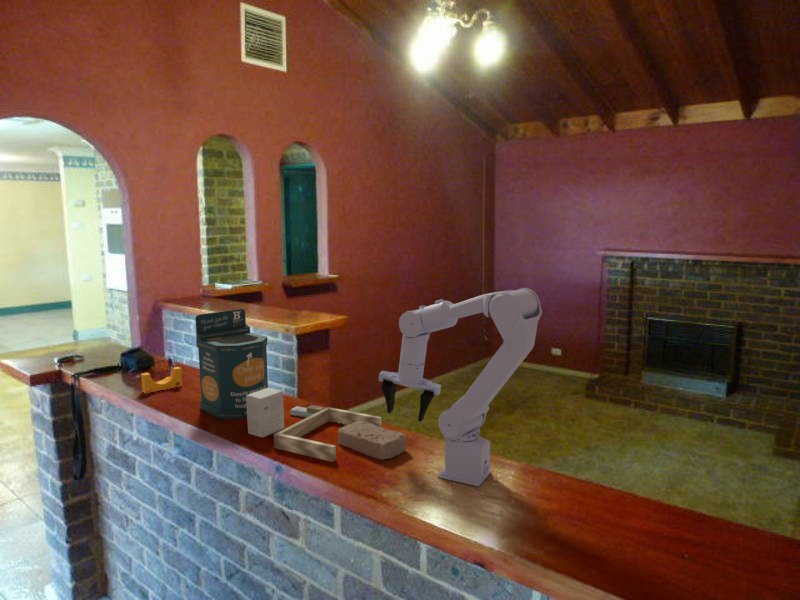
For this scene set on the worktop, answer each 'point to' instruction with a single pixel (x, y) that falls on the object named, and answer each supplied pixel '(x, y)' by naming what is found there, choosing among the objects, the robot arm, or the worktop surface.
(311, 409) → the scraper bar
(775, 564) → the worktop surface
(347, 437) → the brick
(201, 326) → the donation box
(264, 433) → the small box
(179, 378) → the pipe clamp
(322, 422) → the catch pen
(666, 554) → the worktop surface
